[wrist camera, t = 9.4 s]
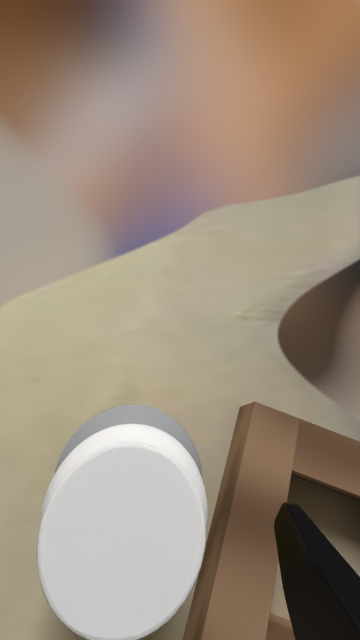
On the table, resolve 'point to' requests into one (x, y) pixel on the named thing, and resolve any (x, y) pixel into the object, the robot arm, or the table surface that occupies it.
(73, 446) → the grey oval disc
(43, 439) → the table surface
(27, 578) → the table surface
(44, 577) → the supplement bottle
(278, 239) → the table surface
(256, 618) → the holder block
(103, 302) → the table surface
